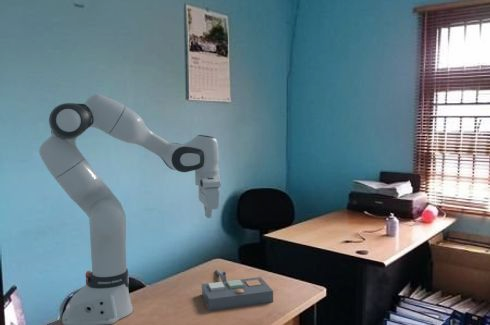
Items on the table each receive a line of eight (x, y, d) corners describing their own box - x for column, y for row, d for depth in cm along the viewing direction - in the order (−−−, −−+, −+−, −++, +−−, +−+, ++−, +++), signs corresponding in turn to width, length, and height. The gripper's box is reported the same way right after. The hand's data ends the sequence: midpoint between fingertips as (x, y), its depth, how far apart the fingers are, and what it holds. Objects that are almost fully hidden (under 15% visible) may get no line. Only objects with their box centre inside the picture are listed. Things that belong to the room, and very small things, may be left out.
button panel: (209, 310, 143) (209, 297, 143) (202, 294, 157) (201, 282, 156) (273, 301, 149) (273, 289, 149) (260, 287, 163) (260, 275, 162)
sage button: (230, 294, 152) (230, 286, 151) (227, 288, 156) (226, 281, 156) (243, 292, 153) (243, 284, 153) (240, 287, 158) (239, 279, 157)
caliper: (226, 289, 162) (226, 273, 162) (223, 289, 162) (223, 273, 161) (217, 271, 182) (217, 256, 181) (215, 271, 182) (215, 257, 181)
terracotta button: (249, 293, 154) (248, 286, 153) (245, 288, 158) (245, 281, 158) (262, 292, 155) (261, 284, 155) (257, 287, 160) (257, 279, 159)
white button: (211, 296, 150) (211, 288, 149) (208, 291, 155) (208, 283, 154) (224, 294, 151) (224, 286, 151) (221, 289, 156) (221, 281, 156)
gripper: (194, 176, 162) (195, 211, 164) (203, 183, 143) (204, 223, 144) (210, 175, 164) (211, 210, 165) (222, 182, 145) (222, 222, 146)
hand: (208, 217), depth 155 cm, fingers closed
